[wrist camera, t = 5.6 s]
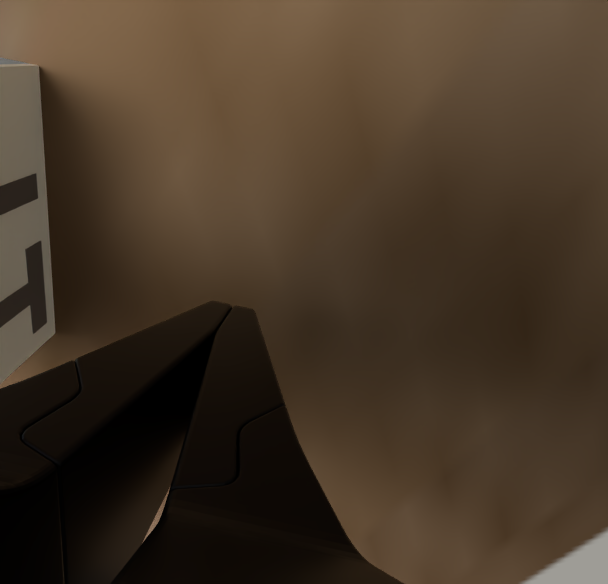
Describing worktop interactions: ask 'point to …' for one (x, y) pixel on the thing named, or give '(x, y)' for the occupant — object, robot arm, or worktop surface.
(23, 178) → the light blue box
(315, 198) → the worktop surface
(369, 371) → the worktop surface
